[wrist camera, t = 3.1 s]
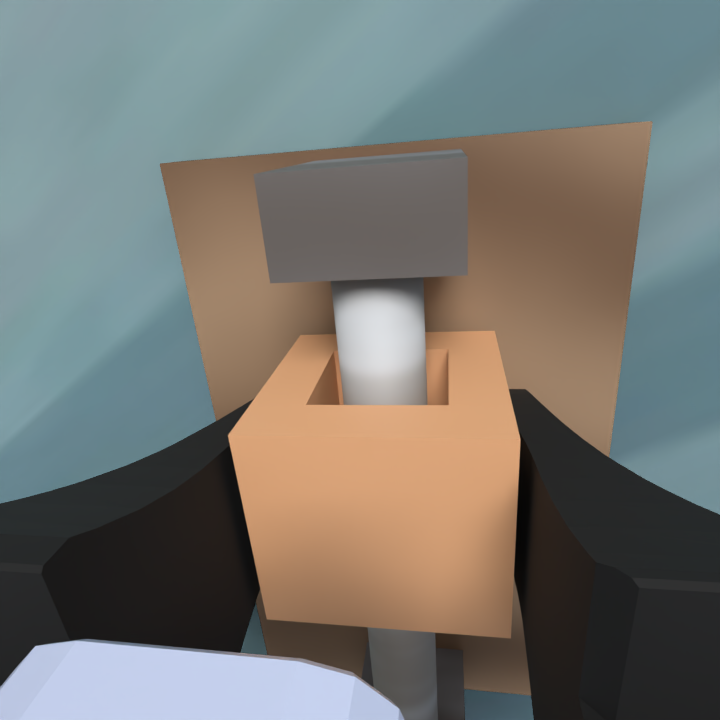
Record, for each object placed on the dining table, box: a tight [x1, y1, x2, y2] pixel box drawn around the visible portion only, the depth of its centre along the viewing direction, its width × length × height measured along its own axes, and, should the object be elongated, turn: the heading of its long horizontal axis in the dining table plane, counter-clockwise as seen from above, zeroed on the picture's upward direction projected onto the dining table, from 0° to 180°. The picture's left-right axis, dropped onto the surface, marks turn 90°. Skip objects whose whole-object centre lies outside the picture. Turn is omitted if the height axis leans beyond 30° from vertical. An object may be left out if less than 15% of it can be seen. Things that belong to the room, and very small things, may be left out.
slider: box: [228, 331, 521, 638], centre depth 10 cm, size 4×4×4 cm
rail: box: [160, 121, 652, 720], centre depth 12 cm, size 16×10×5 cm, turn 5°
